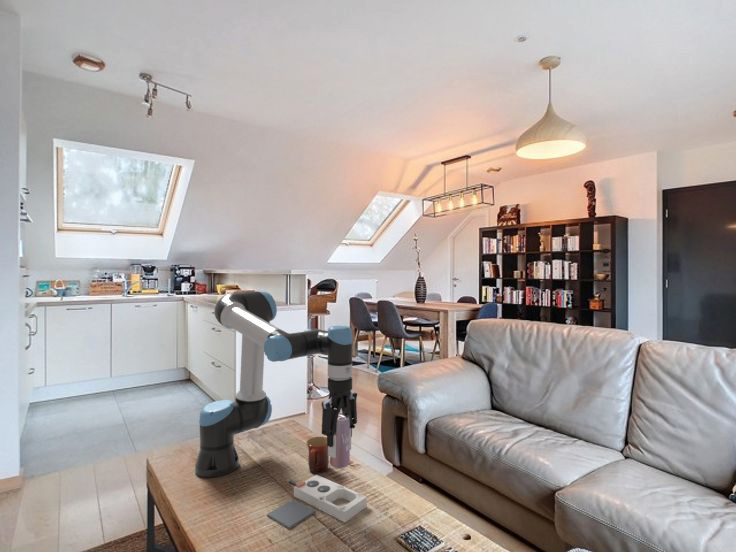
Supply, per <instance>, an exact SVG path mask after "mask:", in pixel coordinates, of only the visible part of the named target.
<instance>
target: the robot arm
mask: <svg viewBox="0 0 736 552" xmlns="http://www.w3.org/2000/svg"><path fill="white" fill-rule="evenodd" d="M276 303H277V302H276V301H275V299H274V297H273V296H272V294H270V293H269V292H267V291H258V290H257V291H245V292H243V291H241V292H230V293H226V294H225V295H223V296H221V297H220V298H219V299H218V301H217V302H216V304H215V306H214V316H215V319H216V320H217V322H218V323H219V324H220V325H221V326H223V327H224V328H226V329H229V330H231V329H232V330H234V331H236V332H238V333H240V334H241V351H240V352H241V354H240V355H241V357H240V375H239V377H240V378H239V380H240V381H239V391H237V392H236V394H235V396H234V397H235V399H234V400H235V401H234V402H233V401H232V400H230V399H222V400H216V401H213V402H210V403H208V404H206V405H204V406H203V407H202V408H201V410H200V413H199V420H198V421H199V452H198V454H197V458H196V461H195V464H194V471H195V474H196V475H197V476H199V477H202V478H219V477H222V476H225V475H229V474H230V473H232V472H234V471H235V470H236V469H238V467H239V465H240V459H239V455H238V453H237V449H236V447H235V443H234V442H235V440H234V436H235V435H238V434H241V433H244V432H248V431H250V430H254V429H258V428H260V427H262V426H265V425H266V424H267V423H268V422H269V421H270V418H271V417H272V411H273V409H272V408H273V405H272V404H271V400H270V398H269V397H268V395H267V393H266V392H265V391H264V390H263V388H264V387H263V385H264V370H265V369H264V368H265V367H264V366H265V365H264V364H265V356H266V358H267V359H268V361H270V362H272V363H273V362H274V363H277V362H284V361H288V360H292V359H296V358H297V359H298V358H302V357H307V356H313V355H322V356H327V377H328V378H327V390H328V392H329V395H328V398H327V400H326V401H325V400H323V401H321V409H322V413H321V415H322V416H321V434H322V435H323V436H325V437H327V446H328V456H329V457H330V456H331V457H333V458H336V435H334V434H335V429H336V424H337V419H338V414H339V413H343V414H344V415H349V419H350V450H351V451H352V437H353V429H355V428H356V425H357V423H358V411H357V408H358V407H357V398H358V393H357V392H354V391H352V390H353V377H352V376H353V345H354V339H353V329H352V328H351V327H350V326H347V325H332V326H329V327H328V328H327V330H324V329H320V328H315V327H314V328H306V329H305V330H303V331H299V332H298V331H297V332H291V333H289V332H286V331H284V330H282V329H281V328H279V327H277V326H275V325H274V324H272V323H271V321H273V320H274V319H275V318H276V317H277V309H278V308H277V304H276Z"/></svg>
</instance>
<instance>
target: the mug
mask: <svg viewBox="0 0 736 552" xmlns="http://www.w3.org/2000/svg"><path fill="white" fill-rule="evenodd" d="M305 443H306V446H307V450H308V455H307V456H308V458H307V459H308V460H307V461H308V463H307V464H308V469H309V471H310V472H311V473H315V474H321V473H324V472H325V471H327V470H328V469H329V464H330V456H328V446H327V436H319V435H318V436H313V437H310V438H308V439H307V440H306V442H305Z"/></svg>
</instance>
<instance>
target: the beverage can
mask: <svg viewBox="0 0 736 552" xmlns="http://www.w3.org/2000/svg"><path fill="white" fill-rule="evenodd" d="M334 435H336V458H333V457H331V456H329V464H330V466H331V467H332V468H333V469H336V470H344V469H346V468H348V467H349V465H350V459H351V458H350V455H351V454H350V419H349V415H344V414H343V413H342V412H340V413H339V414H338V419H337V424H336V429H335V434H334Z"/></svg>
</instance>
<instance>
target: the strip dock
mask: <svg viewBox="0 0 736 552" xmlns="http://www.w3.org/2000/svg"><path fill="white" fill-rule="evenodd" d="M288 482H289V483H291V484H293V485H295V486H293V496H294V498H297V499H299V500H301V501H302V502H305V503H306V504H309V505H311V507H314V508H316V509H318V510H319V511H322V512H324V513H326V514H327V515H329V516H332V517H334V518H336V519H337V520H338V521H342V522H343V523H346V522H348V521H349V520H350V519H351V518H353V517H355V516H356V515H357V514H358V513H360V512H362V511H363V510H365V508H367V503H368V501H367V496H366V495H363V493H359V492H357V491H355V490H352V489H350V488H348V487H345V486H344V485H341V484H338V483H336V482H334V481H332V480H330V479H328V478H325V477H322V476H320V475H318V474H315V475H313V476H312V477H310V478H308V479H306V480H304V481H303V480H301V481H299V482H298V481H296V480H293V479H292V478H289V479H288ZM339 499H344V500H346V501H349V502H348V503H347V504H345V505H337V504H334V503H333V502H334V501H336V500H339Z"/></svg>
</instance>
